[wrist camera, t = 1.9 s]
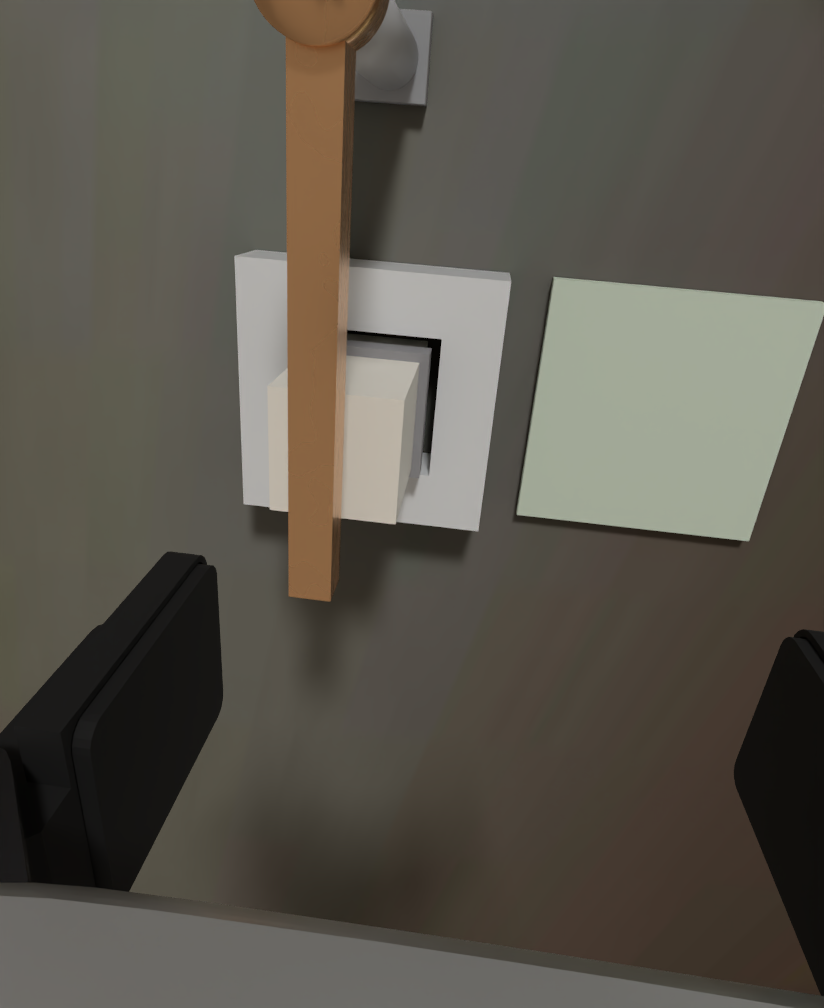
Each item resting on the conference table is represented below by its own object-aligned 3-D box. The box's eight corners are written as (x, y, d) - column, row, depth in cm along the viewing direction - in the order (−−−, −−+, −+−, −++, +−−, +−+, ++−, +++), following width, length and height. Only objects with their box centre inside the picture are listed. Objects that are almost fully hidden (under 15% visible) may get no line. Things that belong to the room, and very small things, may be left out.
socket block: (542, 22, 27) (574, -81, 17) (479, 505, 37) (473, 640, 26) (250, 3, 28) (98, -109, 17) (261, 480, 37) (168, 601, 27)
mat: (821, 301, 31) (827, 303, 30) (745, 535, 36) (748, 541, 35) (553, 276, 31) (554, 278, 31) (516, 509, 37) (516, 514, 36)
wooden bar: (267, -99, 17) (241, -132, 15) (394, -91, 17) (383, -124, 15) (277, 571, 26) (260, 601, 24) (361, 581, 25) (351, 612, 24)
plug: (436, 333, 33) (416, 390, 24) (427, 445, 36) (404, 534, 27) (319, 322, 33) (256, 374, 24) (317, 433, 36) (259, 517, 27)
